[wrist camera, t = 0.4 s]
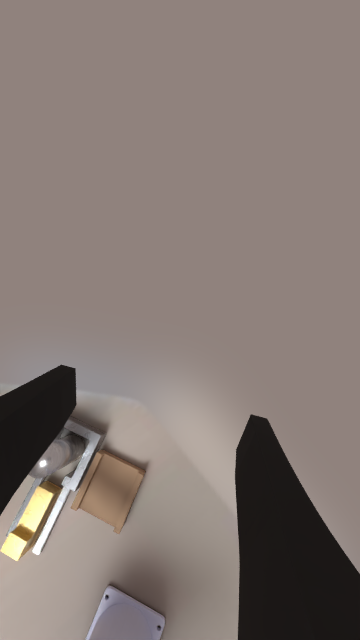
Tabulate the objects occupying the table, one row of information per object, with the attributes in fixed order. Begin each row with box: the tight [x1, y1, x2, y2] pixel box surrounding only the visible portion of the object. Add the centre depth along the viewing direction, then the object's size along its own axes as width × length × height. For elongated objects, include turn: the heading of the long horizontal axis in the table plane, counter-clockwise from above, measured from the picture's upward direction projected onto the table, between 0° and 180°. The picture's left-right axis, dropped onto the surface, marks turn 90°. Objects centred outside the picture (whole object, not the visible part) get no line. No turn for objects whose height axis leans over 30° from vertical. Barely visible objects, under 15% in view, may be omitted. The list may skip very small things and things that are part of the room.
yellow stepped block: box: [1, 481, 62, 561], centre depth 33 cm, size 7×2×4 cm, turn 157°
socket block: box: [6, 416, 106, 555], centre depth 34 cm, size 16×7×2 cm, turn 157°
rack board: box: [71, 450, 146, 534], centre depth 34 cm, size 7×7×2 cm
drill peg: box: [29, 435, 85, 478], centre depth 33 cm, size 4×4×8 cm
